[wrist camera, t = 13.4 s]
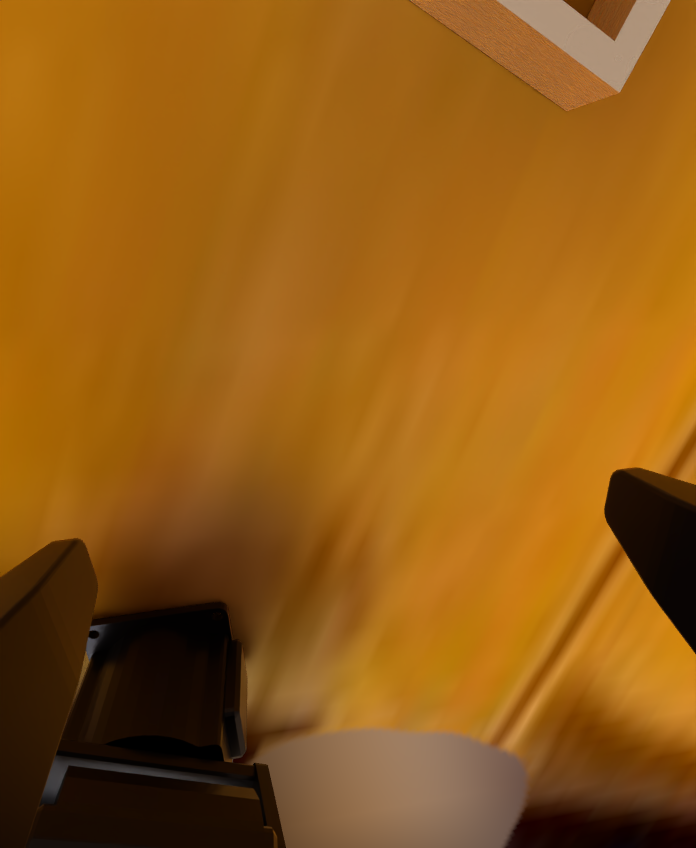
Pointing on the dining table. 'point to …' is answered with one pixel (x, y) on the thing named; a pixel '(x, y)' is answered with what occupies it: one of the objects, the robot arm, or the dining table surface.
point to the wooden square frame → (556, 41)
